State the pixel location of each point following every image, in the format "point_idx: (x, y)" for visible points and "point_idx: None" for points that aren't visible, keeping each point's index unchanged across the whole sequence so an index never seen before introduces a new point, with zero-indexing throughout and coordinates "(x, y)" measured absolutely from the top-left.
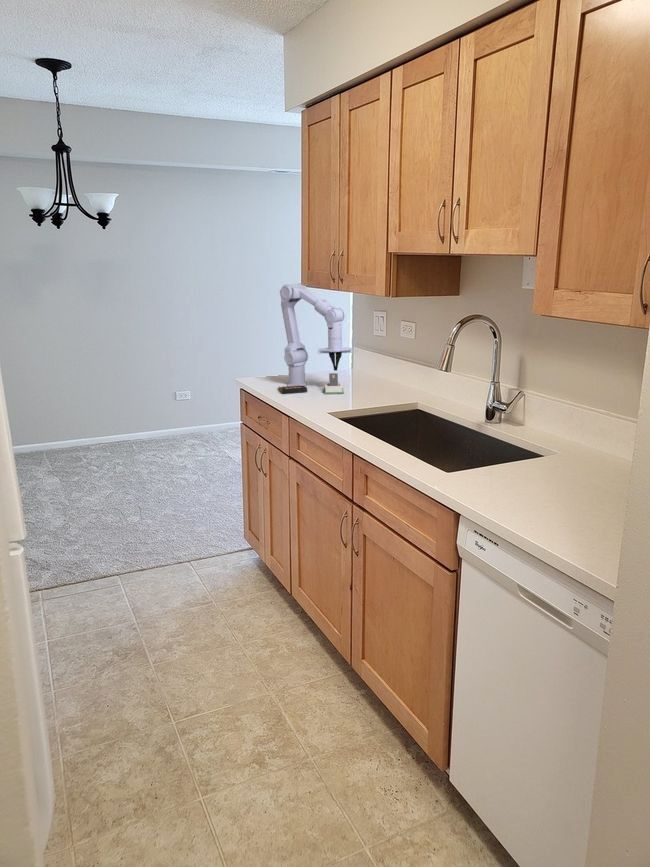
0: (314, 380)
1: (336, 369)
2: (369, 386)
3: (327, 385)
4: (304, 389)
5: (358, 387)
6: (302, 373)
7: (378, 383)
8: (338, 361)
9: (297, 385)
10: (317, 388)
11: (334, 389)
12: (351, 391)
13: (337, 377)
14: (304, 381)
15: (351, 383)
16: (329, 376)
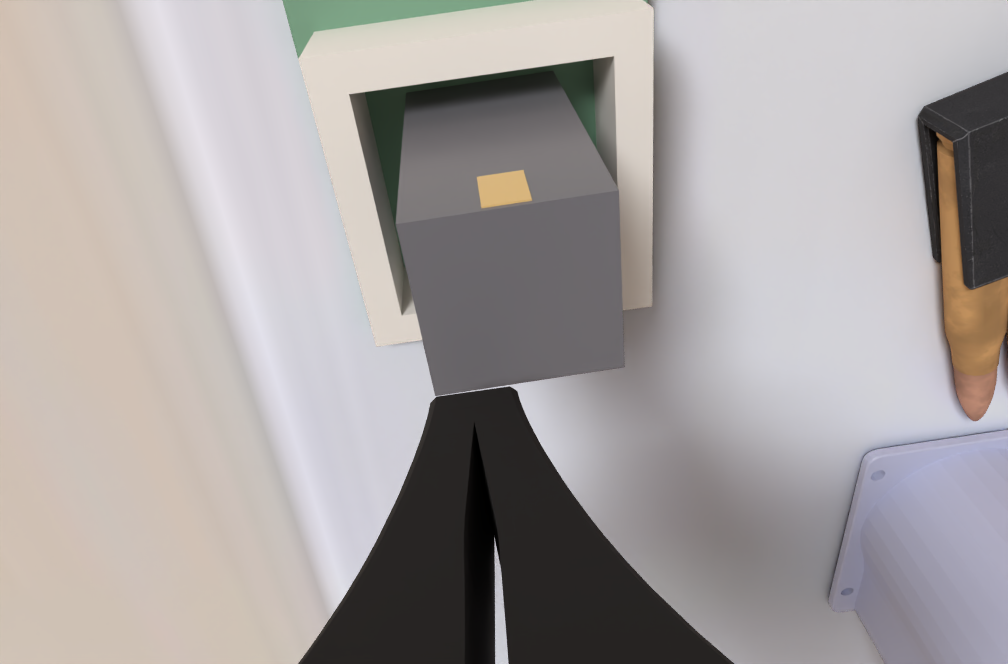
0: (734, 656)
1: (447, 405)
2: (44, 481)
3: None
4: (991, 103)
5: (175, 425)
6: (984, 596)
7: (3, 610)
8: (365, 586)
9: (970, 438)
10: (732, 347)
11: (461, 21)
12: (193, 176)
13: (405, 194)
14: (888, 527)
15: (329, 589)
16: (607, 175)
